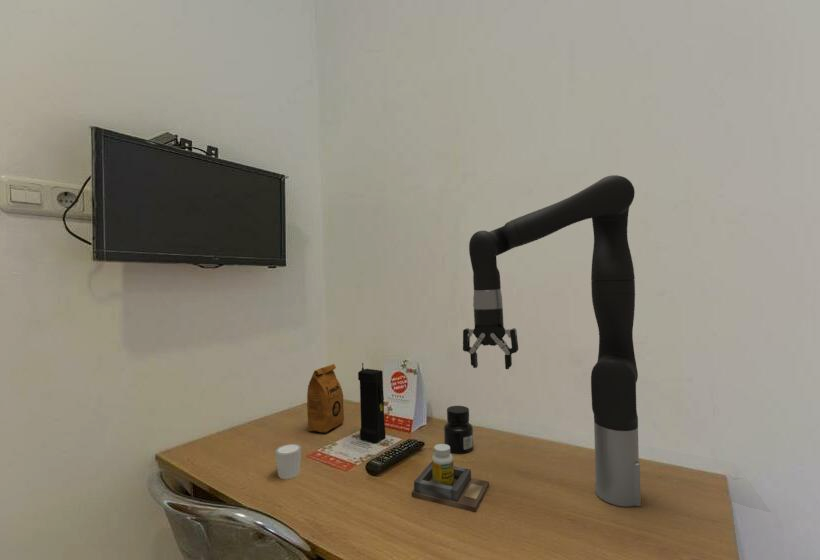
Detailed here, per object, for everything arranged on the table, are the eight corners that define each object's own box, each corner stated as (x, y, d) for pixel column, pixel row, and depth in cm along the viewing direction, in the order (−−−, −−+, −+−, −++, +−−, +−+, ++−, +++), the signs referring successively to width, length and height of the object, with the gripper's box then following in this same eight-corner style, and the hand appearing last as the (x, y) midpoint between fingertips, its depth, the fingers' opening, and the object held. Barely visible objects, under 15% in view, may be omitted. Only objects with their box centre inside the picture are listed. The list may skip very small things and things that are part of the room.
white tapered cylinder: (307, 470, 110) (306, 445, 110) (290, 482, 104) (289, 456, 104) (288, 466, 113) (287, 441, 113) (270, 477, 107) (269, 451, 107)
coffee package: (348, 424, 144) (346, 364, 144) (325, 436, 133) (323, 371, 133) (328, 419, 149) (326, 361, 149) (303, 431, 138) (302, 369, 138)
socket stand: (489, 485, 99) (488, 471, 99) (475, 511, 89) (475, 496, 89) (430, 473, 106) (430, 460, 106) (411, 496, 96) (411, 482, 95)
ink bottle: (473, 455, 116) (472, 415, 116) (443, 454, 118) (442, 414, 118) (473, 441, 126) (472, 404, 126) (445, 440, 127) (444, 403, 127)
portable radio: (389, 437, 131) (387, 362, 130) (378, 444, 126) (376, 366, 125) (370, 433, 135) (368, 360, 135) (359, 439, 130) (357, 364, 130)
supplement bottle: (444, 477, 102) (443, 440, 102) (458, 486, 98) (457, 447, 98) (428, 484, 99) (427, 446, 99) (441, 493, 95) (440, 453, 95)
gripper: (517, 305, 104) (520, 366, 104) (466, 306, 110) (468, 364, 110) (512, 307, 98) (516, 372, 98) (457, 308, 104) (461, 370, 104)
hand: (491, 368), depth 104 cm, fingers open, 8 cm apart
